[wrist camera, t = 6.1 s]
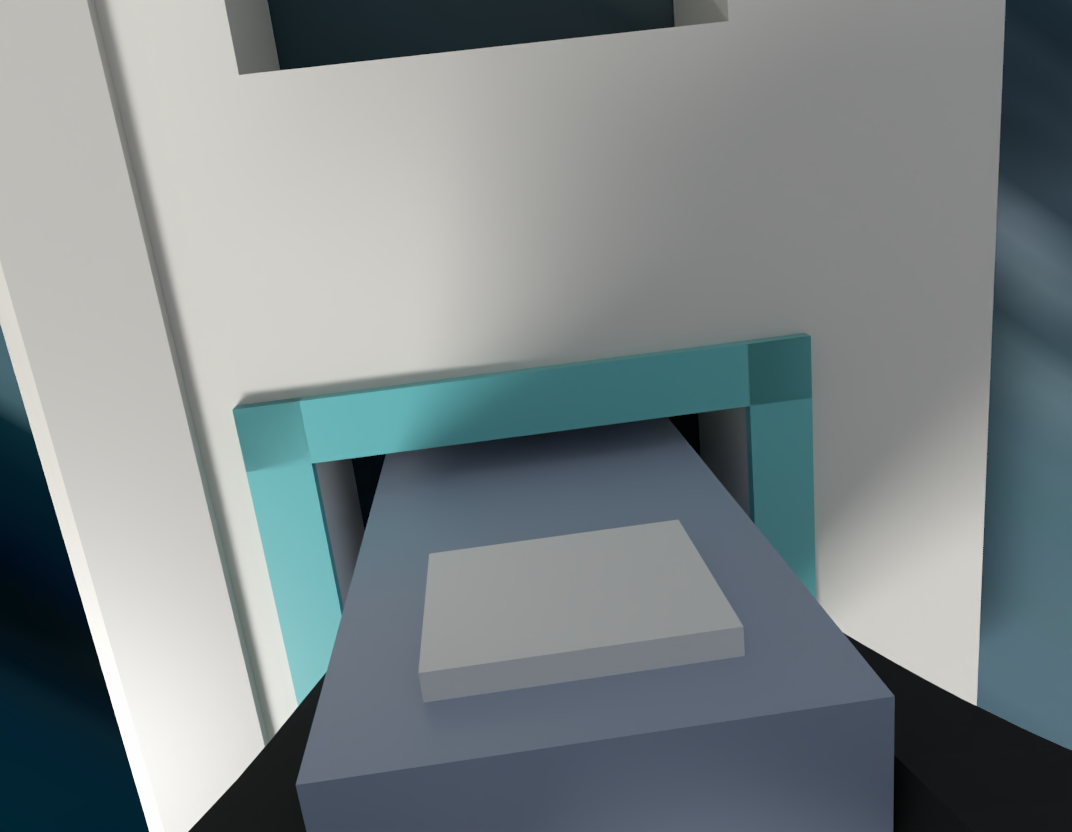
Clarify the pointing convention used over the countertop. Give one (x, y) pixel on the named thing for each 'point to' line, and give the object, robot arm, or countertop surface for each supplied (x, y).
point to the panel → (487, 311)
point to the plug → (586, 656)
